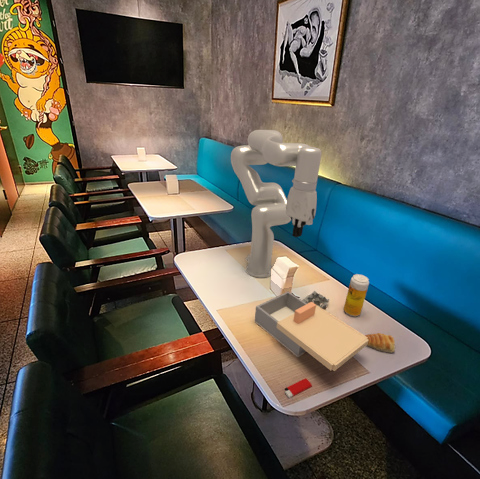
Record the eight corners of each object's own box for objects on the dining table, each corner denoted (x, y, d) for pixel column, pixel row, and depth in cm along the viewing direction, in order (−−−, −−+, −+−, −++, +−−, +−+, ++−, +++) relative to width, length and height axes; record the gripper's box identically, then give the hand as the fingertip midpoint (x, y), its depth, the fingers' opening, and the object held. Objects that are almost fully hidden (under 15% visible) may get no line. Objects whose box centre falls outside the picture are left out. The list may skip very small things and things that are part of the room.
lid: (276, 327, 95) (278, 312, 93) (312, 307, 106) (315, 293, 103) (332, 372, 80) (337, 355, 78) (368, 344, 91) (373, 328, 89)
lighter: (312, 384, 82) (289, 396, 78) (311, 388, 83) (288, 400, 79) (305, 377, 84) (282, 388, 81) (304, 380, 85) (282, 391, 81)
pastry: (364, 350, 97) (367, 340, 95) (360, 335, 103) (362, 326, 101) (395, 354, 96) (398, 345, 94) (388, 340, 102) (391, 331, 100)
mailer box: (254, 321, 106) (256, 306, 103) (285, 305, 115) (288, 291, 112) (297, 357, 92) (300, 340, 89) (329, 336, 101) (333, 320, 98)
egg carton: (315, 318, 110) (317, 309, 108) (298, 308, 114) (299, 299, 113) (330, 306, 117) (332, 297, 115) (313, 297, 122) (314, 289, 120)
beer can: (339, 309, 115) (348, 275, 109) (352, 305, 118) (361, 272, 111) (351, 318, 110) (360, 284, 104) (363, 315, 113) (373, 281, 106)
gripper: (280, 181, 104) (274, 230, 111) (315, 192, 93) (306, 246, 101) (295, 179, 108) (288, 227, 116) (330, 189, 98) (320, 241, 105)
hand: (296, 235), depth 108 cm, fingers closed
